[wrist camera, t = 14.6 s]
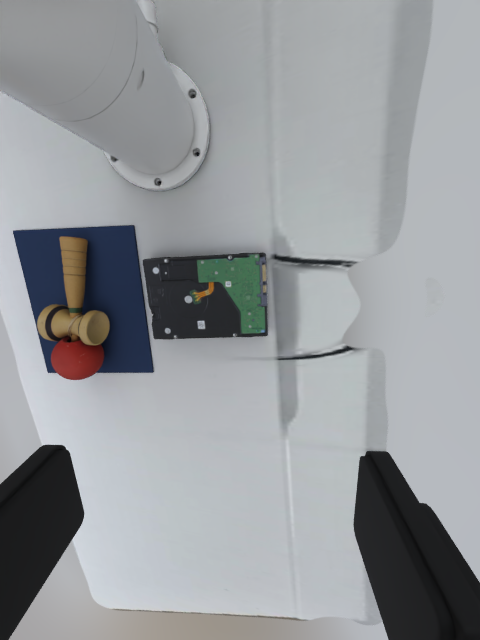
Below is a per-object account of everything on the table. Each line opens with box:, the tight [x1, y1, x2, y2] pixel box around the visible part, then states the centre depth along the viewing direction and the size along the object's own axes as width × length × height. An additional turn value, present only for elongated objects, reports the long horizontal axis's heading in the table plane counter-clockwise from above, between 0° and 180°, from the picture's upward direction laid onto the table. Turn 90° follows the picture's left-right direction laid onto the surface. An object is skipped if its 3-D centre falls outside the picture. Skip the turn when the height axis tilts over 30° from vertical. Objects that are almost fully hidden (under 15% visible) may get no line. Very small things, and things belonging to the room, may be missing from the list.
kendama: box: [37, 236, 110, 380], centre depth 35 cm, size 8×6×18 cm
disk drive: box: [143, 253, 268, 339], centre depth 35 cm, size 10×3×15 cm
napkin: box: [13, 225, 154, 373], centre depth 38 cm, size 20×16×1 cm
